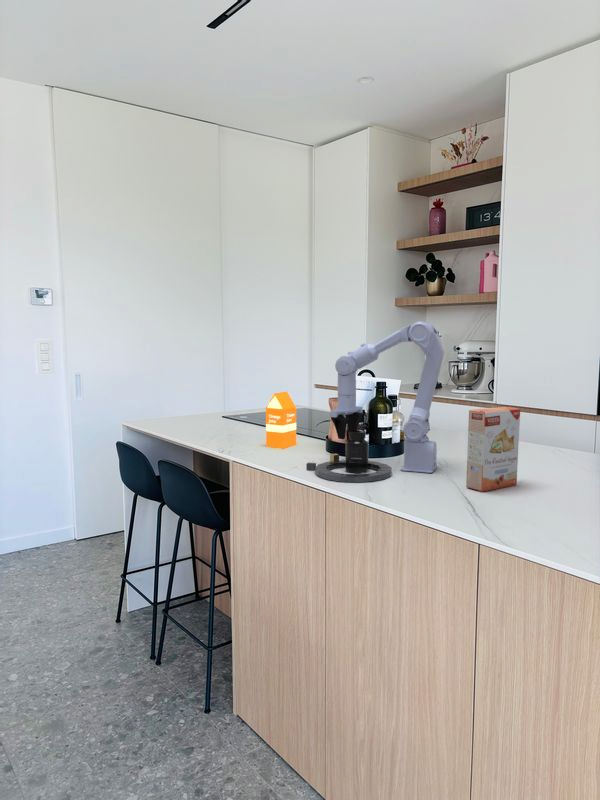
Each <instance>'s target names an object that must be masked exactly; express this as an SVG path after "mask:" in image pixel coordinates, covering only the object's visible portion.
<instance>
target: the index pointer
mask: <svg viewBox="0 0 600 800" xmlns="http://www.w3.org/2000/svg"><path fill="white" fill-rule="evenodd" d="M316 466H317V463H316V462H310V461H308V462H307V463H306V466H305V467H306V471H314V472H315V467H316Z"/></svg>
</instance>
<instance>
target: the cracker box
mask: <svg viewBox="0 0 600 800" xmlns="http://www.w3.org/2000/svg"><path fill="white" fill-rule="evenodd" d="M520 420H521V409H520V408H518V407H509V406H500V407H497V406H496V407H489V408H488V407H487V408H477V409H469V410H468V428H467V430H468V431H467V433H468V434H467V453H466V455H467V458H466V485H465V486H466V488H468V489H472V490H476V491H478V492H487V491H492V490H497V489H501V488H502V489H503V488H507V487H511V486H517V485H518V482H517V480H518V465H519V463H518V461H519V444H520V443H519V442H520V425H521V424H520V423H521V422H520Z"/></svg>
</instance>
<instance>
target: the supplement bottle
mask: <svg viewBox="0 0 600 800" xmlns="http://www.w3.org/2000/svg"><path fill="white" fill-rule="evenodd" d="M348 438H349V439H348V440H346V442H345V459H344V460H345V467H344V468H345V471H346V472H348V473H349V474H366V473H367V472H368V471H369V468H368V461H369V448H370V447H369V442H368V441H367V440H366V431H365V430H358V429H357V430H353V431H350V432H349V435H348Z"/></svg>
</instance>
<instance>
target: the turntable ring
mask: <svg viewBox="0 0 600 800" xmlns="http://www.w3.org/2000/svg"><path fill="white" fill-rule="evenodd" d="M339 468H345V459H342V460H340V454H338V453H330V454H329V461H326V462H322V463H319V464H316V467H315V470H314V473H315V475H316V476H317V477H319V478H322V479H325V480H329V481H335V482H346V483H366V482H367V483H368V482H369V483H370V482H376V481H380V480H384V479H387V478H390V477H391V476H392V471H393V470H392V469H393V468H392V466H390V465H388V464H387V463H386V464H385V463H382V462H379V461H373V460H368V469H372V470H375V472H369V473H341V472H334V471H331V470H332V469H333V470H334V469H339Z"/></svg>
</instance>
